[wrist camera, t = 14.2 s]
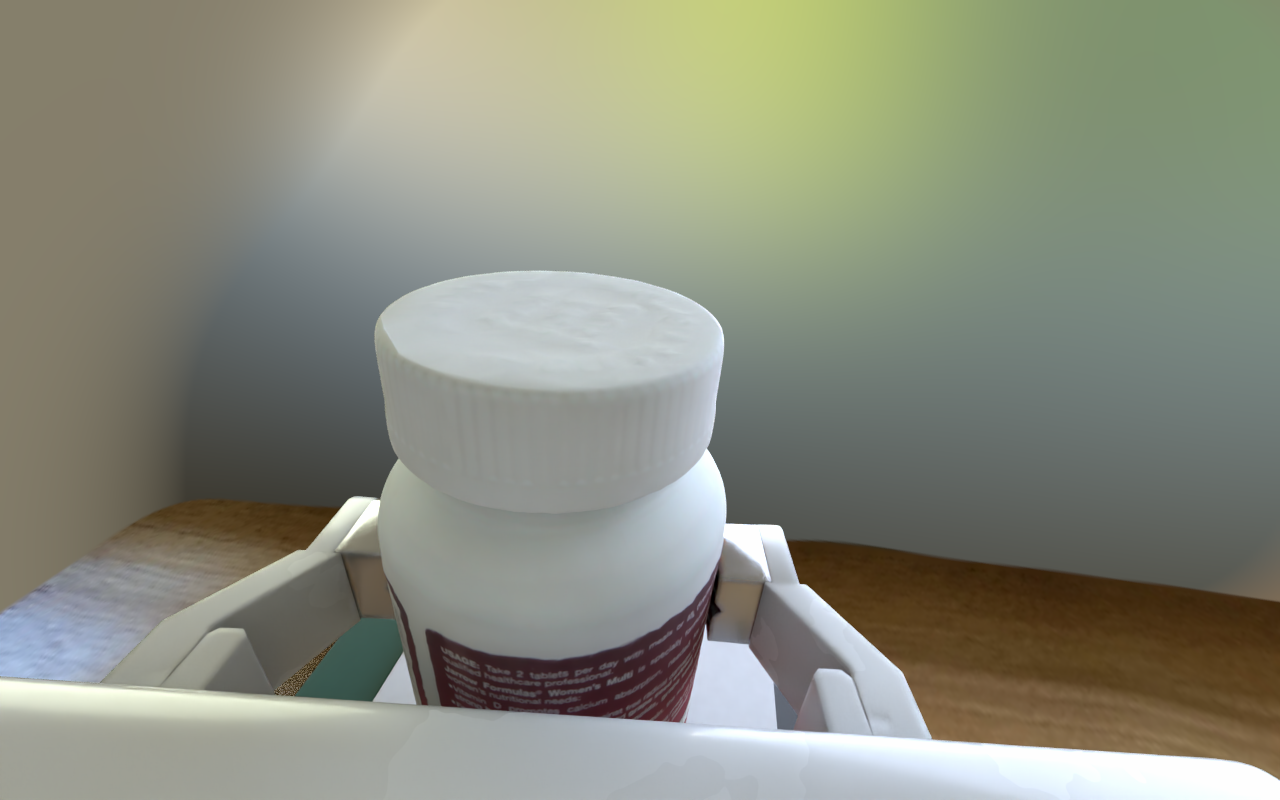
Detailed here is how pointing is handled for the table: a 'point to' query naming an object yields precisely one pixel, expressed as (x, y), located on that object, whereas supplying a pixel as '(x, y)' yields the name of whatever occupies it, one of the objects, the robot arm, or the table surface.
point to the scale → (379, 673)
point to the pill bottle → (551, 492)
